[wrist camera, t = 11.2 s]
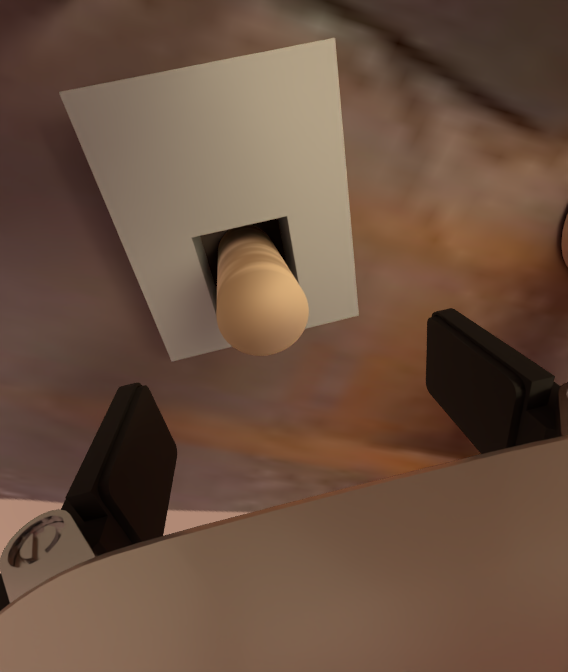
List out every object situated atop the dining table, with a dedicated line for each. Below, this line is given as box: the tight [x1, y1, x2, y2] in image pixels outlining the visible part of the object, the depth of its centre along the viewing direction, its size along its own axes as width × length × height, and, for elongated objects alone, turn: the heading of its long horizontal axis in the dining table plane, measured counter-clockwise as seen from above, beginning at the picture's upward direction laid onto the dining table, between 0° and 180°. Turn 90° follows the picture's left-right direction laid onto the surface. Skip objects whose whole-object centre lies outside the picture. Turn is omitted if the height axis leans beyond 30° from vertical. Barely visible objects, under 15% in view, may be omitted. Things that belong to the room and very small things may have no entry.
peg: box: [216, 225, 309, 356], centre depth 21 cm, size 4×4×12 cm
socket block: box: [59, 38, 359, 362], centre depth 23 cm, size 14×16×5 cm
